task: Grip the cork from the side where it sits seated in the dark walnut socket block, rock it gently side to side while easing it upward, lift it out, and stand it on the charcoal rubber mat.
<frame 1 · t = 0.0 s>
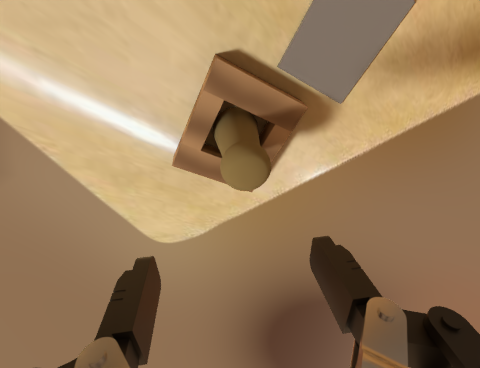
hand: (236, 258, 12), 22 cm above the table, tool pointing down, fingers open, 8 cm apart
socket block: (235, 129, 32), on the table
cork: (234, 128, 32), resting in socket block
rubber mat: (342, 35, 27), on the table
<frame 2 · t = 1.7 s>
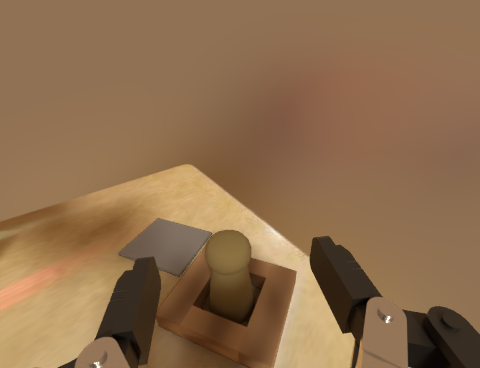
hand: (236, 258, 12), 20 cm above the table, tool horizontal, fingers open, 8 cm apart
socket block: (232, 303, 31), on the table
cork: (232, 304, 32), resting in socket block
rubber mat: (167, 243, 42), on the table
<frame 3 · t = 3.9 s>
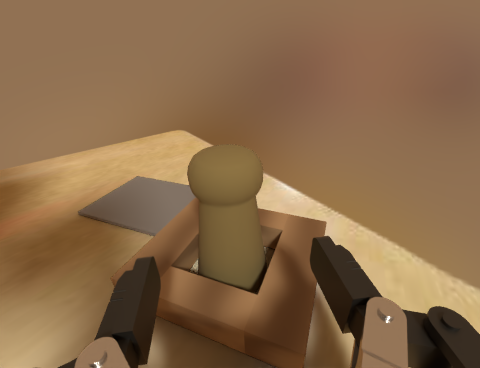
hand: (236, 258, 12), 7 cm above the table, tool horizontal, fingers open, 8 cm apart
socket block: (232, 267, 21), on the table
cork: (232, 269, 21), resting in socket block
rubber mat: (146, 202, 31), on the table
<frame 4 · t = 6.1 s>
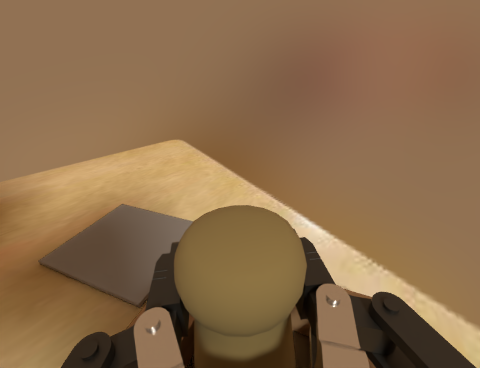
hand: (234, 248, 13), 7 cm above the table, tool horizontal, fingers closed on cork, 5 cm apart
rubber mat: (129, 244, 24), on the table
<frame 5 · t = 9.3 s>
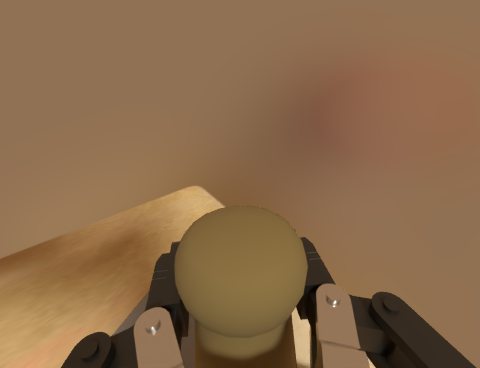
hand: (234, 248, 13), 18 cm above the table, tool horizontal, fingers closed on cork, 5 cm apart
rubber mat: (173, 334, 26), on the table
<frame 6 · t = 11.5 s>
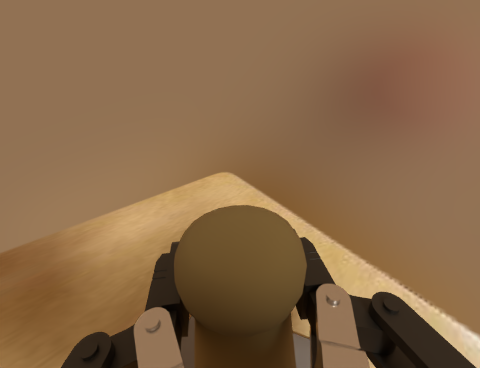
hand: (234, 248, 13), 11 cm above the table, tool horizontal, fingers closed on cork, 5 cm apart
when the fingers open (9 cm above the table, at t = 12.6 s): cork moves 2 cm, resting on rubber mat.
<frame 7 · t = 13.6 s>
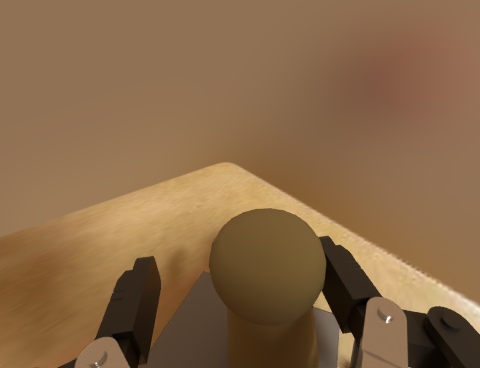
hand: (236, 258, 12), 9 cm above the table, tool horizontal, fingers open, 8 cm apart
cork: (272, 351, 16), point 1 cm above the table, touching gripper, rubber mat
rubber mat: (242, 354, 17), on the table
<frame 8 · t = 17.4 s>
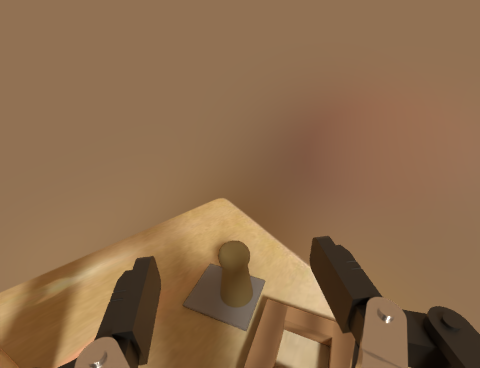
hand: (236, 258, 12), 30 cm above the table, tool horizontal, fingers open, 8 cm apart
socket block: (302, 361, 34), on the table
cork: (236, 293, 44), resting on rubber mat
rubber mat: (225, 293, 45), on the table
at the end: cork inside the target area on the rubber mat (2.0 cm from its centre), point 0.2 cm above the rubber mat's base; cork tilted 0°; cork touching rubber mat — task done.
